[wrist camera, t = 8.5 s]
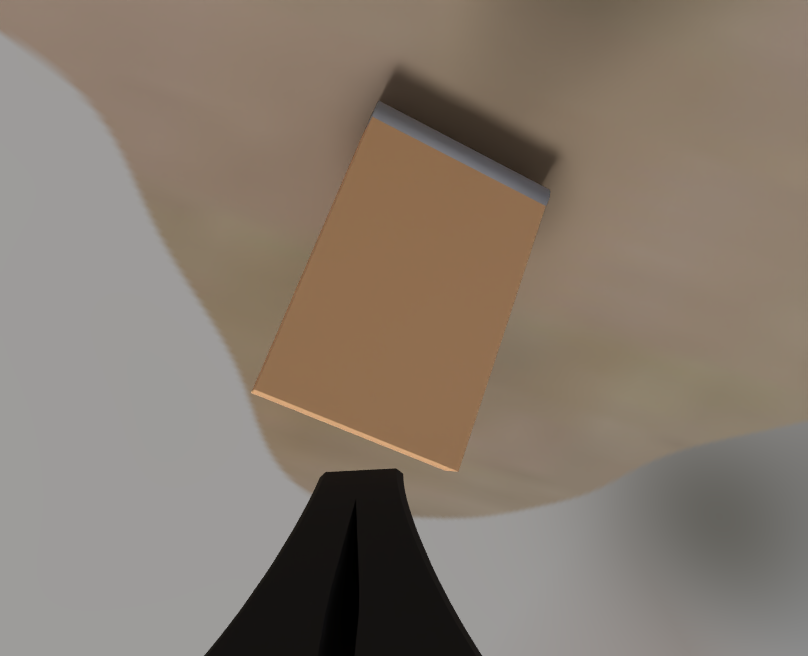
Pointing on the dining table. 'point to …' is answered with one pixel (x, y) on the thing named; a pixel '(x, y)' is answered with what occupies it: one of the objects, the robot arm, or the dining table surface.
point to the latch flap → (406, 292)
